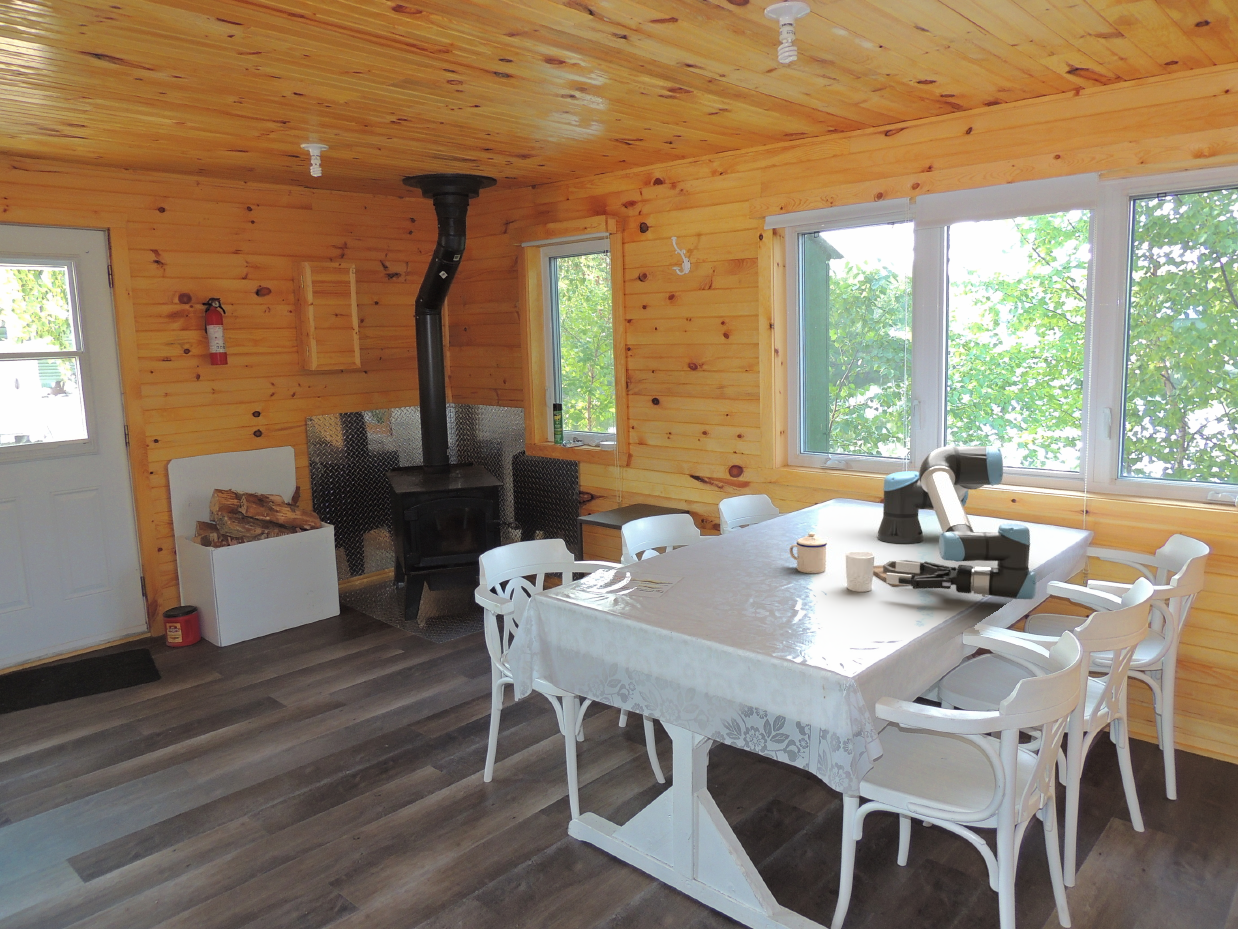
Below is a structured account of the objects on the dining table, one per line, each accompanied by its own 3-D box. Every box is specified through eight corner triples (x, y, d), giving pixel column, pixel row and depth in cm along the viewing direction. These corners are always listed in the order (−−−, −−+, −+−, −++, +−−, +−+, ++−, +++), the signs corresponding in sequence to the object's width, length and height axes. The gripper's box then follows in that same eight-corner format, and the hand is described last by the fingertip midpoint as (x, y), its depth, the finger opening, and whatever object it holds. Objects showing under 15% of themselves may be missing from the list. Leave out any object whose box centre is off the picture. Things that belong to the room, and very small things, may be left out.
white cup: (841, 585, 257) (841, 551, 255) (867, 584, 257) (868, 550, 256) (850, 593, 249) (851, 558, 248) (878, 592, 250) (878, 557, 248)
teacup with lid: (831, 569, 274) (832, 532, 273) (817, 575, 267) (817, 537, 266) (797, 563, 282) (797, 527, 280) (782, 569, 275) (782, 532, 273)
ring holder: (866, 570, 272) (866, 560, 272) (921, 566, 275) (921, 556, 274) (892, 586, 255) (892, 576, 254) (951, 582, 257) (951, 572, 257)
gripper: (967, 606, 228) (882, 597, 238) (977, 581, 250) (899, 573, 260) (968, 578, 227) (882, 569, 237) (978, 555, 249) (899, 548, 259)
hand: (891, 571), depth 248 cm, fingers open, 13 cm apart
